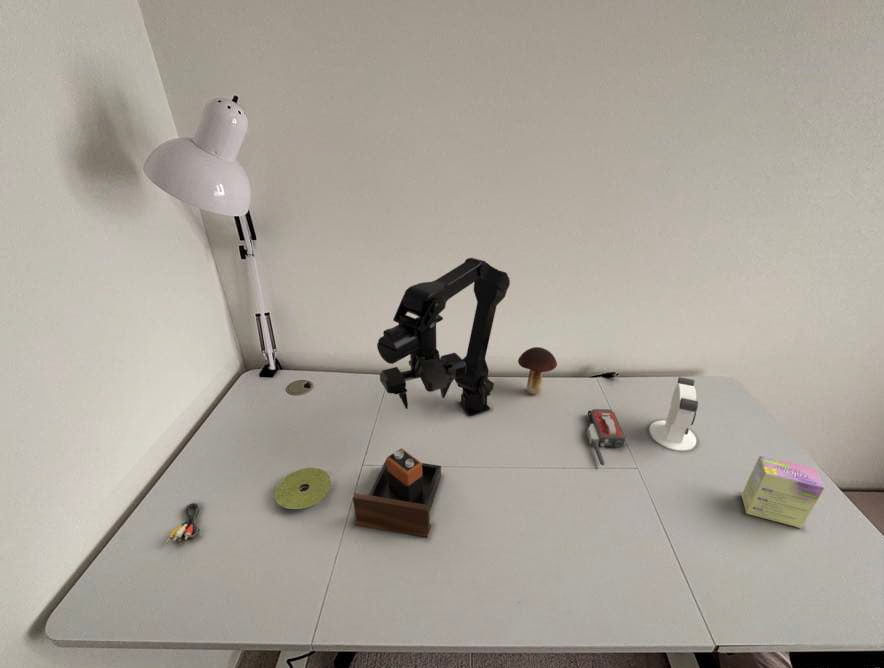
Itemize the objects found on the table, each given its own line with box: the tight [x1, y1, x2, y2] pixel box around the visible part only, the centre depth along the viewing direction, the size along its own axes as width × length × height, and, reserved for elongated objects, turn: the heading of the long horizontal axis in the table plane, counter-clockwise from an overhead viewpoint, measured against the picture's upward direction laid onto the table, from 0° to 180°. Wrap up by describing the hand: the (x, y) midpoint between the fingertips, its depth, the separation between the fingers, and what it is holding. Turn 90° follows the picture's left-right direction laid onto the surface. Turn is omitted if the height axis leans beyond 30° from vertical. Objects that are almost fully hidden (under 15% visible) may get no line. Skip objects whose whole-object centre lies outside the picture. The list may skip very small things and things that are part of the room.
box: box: [741, 455, 826, 529], centre depth 90 cm, size 10×6×12 cm, turn 71°
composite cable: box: [165, 502, 201, 544], centre depth 85 cm, size 10×5×2 cm, turn 10°
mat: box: [274, 467, 332, 510], centre depth 93 cm, size 11×11×2 cm
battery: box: [385, 448, 423, 502], centre depth 91 cm, size 4×7×10 cm, turn 48°
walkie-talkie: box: [586, 408, 626, 466], centre depth 110 cm, size 9×4×20 cm
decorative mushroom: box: [517, 346, 558, 395], centre depth 125 cm, size 11×11×15 cm
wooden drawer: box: [352, 460, 442, 539], centre depth 91 cm, size 16×15×7 cm
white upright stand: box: [648, 376, 699, 452], centre depth 110 cm, size 12×11×15 cm
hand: (424, 402), depth 101 cm, fingers open, 9 cm apart
